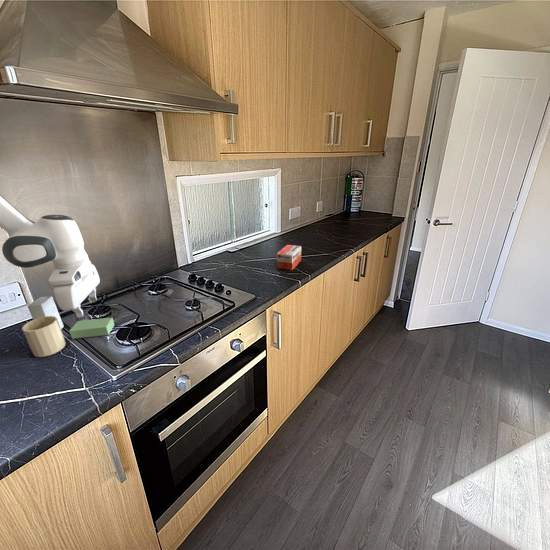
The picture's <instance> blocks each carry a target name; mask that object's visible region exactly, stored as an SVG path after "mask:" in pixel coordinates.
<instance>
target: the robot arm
mask: <svg viewBox="0 0 550 550" xmlns="http://www.w3.org/2000/svg"><path fill="white" fill-rule="evenodd" d="M0 228H1V229H2V230H4V231H5V232H6V233H7V234H8V238H6V240H5V241H4V242H3V245H2V247H1V252H2V255H3V257H4V258H5V260H6V261H7V262H8V263H10V264H11V265H13V266H15V267H17V268H22V269H23V268H24V269H25V268H26V269H29V268H33V267H37V266H41V265H43V264H46V263H48V262H52V263H53V266H54V267H53V269H52V272H51V274H50V276H49V278H48V281H47V282H48V285H49V286H50V287H53V289H52V290H53V295H54V298H55V300H56V303H57V305H58V307H59V309H60V310H62V311H64V312H65V311H66V312H67V311H72V312H73V313H75V316H76V317H77V318H82V317H84V316H85V315H86V312H85V310H84V309H83V308H81V307H82V306H81V304H82V303H83V302H84V301H85V299H87V297H88V303H91V304H93V303H96V302H97V286H98V285H100V281H101V278H100V276H99V272H98V270H97V268H96V267H95V265H94V264H92V262H91V260H90V258H89V255H88V253H87V251H86V250H85V242H84V239H83V236H82V233H81V231H80V228H79V226H78V224H77V223H76V220H74V218H72V217H71V216H69V215H64V214H46V215H43V216H41V217H40V218H38V220H37V221H33V220H31V219H30V218H28V217H27V216H26V215H24V214H23V213H22V212H21V211H19V210H18V209H17V208H16V206H13V204H12V203H10V202H9V201H8V200H7V199H6V198H5V197H3V196H2V195H1V194H0Z"/></svg>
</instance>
